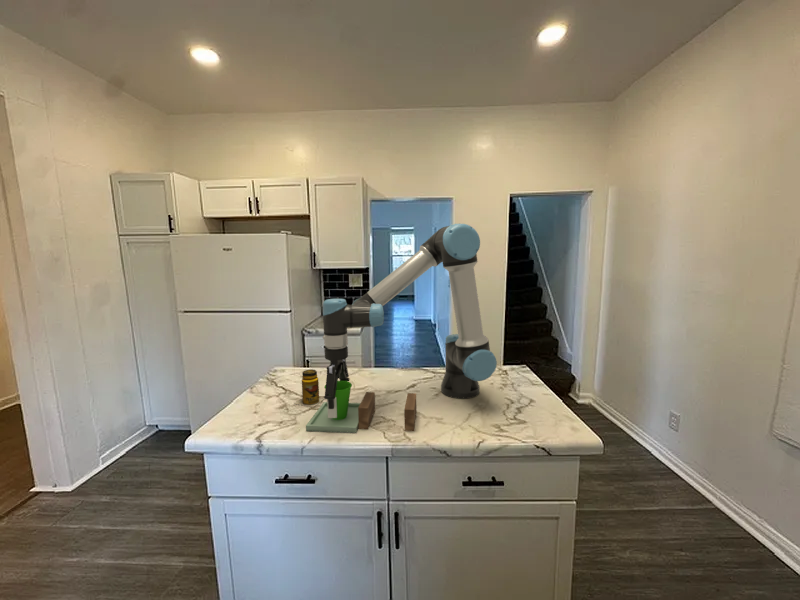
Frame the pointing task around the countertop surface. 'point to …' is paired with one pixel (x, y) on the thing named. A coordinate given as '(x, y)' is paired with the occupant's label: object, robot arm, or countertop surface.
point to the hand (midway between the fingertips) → (338, 408)
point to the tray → (326, 424)
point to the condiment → (310, 389)
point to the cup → (342, 398)
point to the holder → (368, 410)
